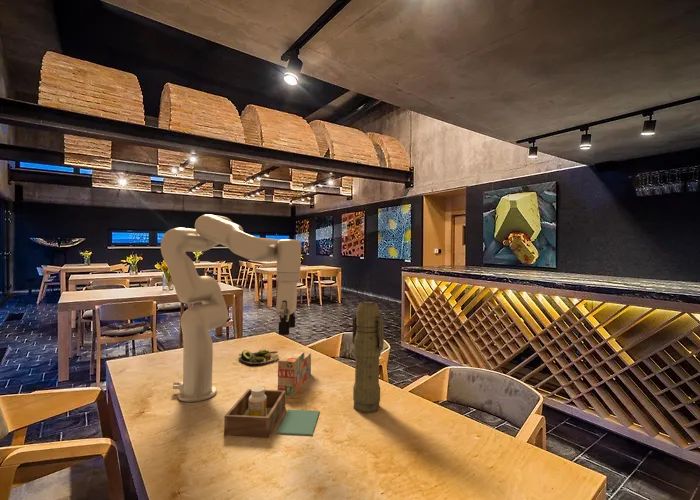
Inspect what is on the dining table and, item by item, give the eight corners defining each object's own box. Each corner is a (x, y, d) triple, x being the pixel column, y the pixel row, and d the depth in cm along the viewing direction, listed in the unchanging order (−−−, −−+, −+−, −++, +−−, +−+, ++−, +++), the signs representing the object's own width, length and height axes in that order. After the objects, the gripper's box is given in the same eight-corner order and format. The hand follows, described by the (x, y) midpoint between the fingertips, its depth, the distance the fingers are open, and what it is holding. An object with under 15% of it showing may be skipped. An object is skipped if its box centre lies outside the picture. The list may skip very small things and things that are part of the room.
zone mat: (276, 433, 96) (276, 432, 96) (288, 410, 110) (288, 409, 110) (312, 435, 96) (312, 434, 96) (319, 412, 110) (319, 410, 110)
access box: (268, 438, 94) (268, 418, 94) (223, 435, 95) (224, 416, 95) (285, 407, 113) (285, 390, 113) (247, 405, 113) (248, 389, 113)
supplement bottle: (254, 426, 100) (255, 394, 100) (244, 420, 103) (245, 389, 103) (269, 420, 104) (270, 388, 104) (259, 414, 108) (260, 384, 108)
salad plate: (268, 351, 176) (269, 342, 176) (288, 359, 163) (288, 350, 163) (232, 359, 162) (233, 349, 162) (251, 369, 150) (251, 358, 150)
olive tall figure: (357, 398, 121) (359, 299, 121) (388, 406, 114) (389, 302, 115) (344, 407, 113) (345, 302, 113) (375, 417, 107) (377, 305, 107)
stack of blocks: (296, 373, 145) (297, 344, 145) (311, 374, 144) (311, 345, 144) (277, 393, 124) (277, 359, 124) (293, 395, 122) (294, 361, 123)
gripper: (282, 275, 119) (281, 324, 119) (269, 279, 101) (268, 337, 101) (304, 276, 118) (303, 325, 118) (295, 280, 101) (293, 338, 101)
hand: (287, 330), depth 110 cm, fingers open, 9 cm apart
